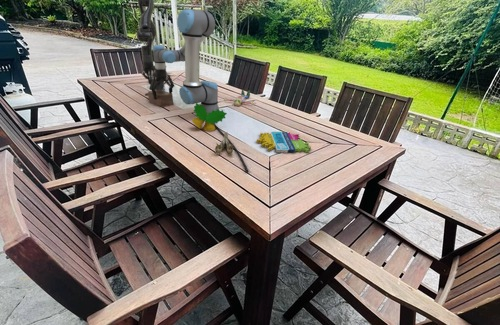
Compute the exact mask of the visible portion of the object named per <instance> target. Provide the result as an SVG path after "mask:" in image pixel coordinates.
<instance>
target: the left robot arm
mask: <svg viewBox="0 0 500 325" xmlns="http://www.w3.org/2000/svg"><path fill="white" fill-rule="evenodd" d="M154 1H155V0H137V4H138V8H139V12H140V19H139V26H138V30H137V33H136V39H137V41H138V42H140V43H146V44H145V45H141V47H140V49H141V60H142V67H143V71H142V72H141V73H140V74H141V75H142V77H143V78H144V79H146V80H147V83H148V85H150V84H151V81H152V76H154V77H156V73H155V69H156V68H155V63H154V55H153V43H154V42H155V39H156V37H157V29H156V24H155V23H154V21H153V19H152V15H153V11H154V4H155V2H154ZM166 79H167V81H168V82H169V80H168V78H166ZM156 80H157V79H156ZM156 80H155V82H156ZM154 84H155V83H154ZM165 84H166V82H165V81H164V82H160V83H159V84H158V86H157V87H156V89H155V90H163V91H166V90H165V89H166V86H165Z"/></svg>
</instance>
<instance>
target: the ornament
mask: <svg viewBox="0 0 500 325" xmlns="http://www.w3.org/2000/svg"><path fill="white" fill-rule="evenodd" d="M219 110H220V108H219V109H217V110H216V111H214V110H212V112H211V113H208V112H206V109H204V106H201V103H197V102H196V103H195V105H194V106H193V112H194V113H195V118H192V119H191V122H192V123H193V125H195V127H197V128H198V129H202V130H203V131H206V132H212V131H213V132H214V131H215V130H216V127H215V126H214V124H213V123H215V124H218V123H219V122H223V119H226V115H227V114H228V113H227V112H224V110H223V109H221V110H220V111H219ZM207 113H208V115H207Z"/></svg>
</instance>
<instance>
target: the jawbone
mask: <svg viewBox="0 0 500 325" xmlns="http://www.w3.org/2000/svg"><path fill="white" fill-rule="evenodd" d="M223 134H224V136H223V140H222V139H221V142H220V144H218V142H215V144H216V146H215V148H214V149H215V152H214V154H215V155H217V156H218V155H220V153H221V152H223V151H224V150H226V152H227V153H228V155H229V156H233V155H234V154H233V153H234V147H233V146H232V145H234V143H232V145H231V144H230V142H229V141H228V139H229V138H228V137H229V136H228V135H229V133H228V131H226V132H223Z"/></svg>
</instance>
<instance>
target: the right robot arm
mask: <svg viewBox="0 0 500 325" xmlns="http://www.w3.org/2000/svg"><path fill="white" fill-rule="evenodd" d="M176 25H177V27H178V28H177V29H178V30H179V32H180V33H181V37H183V38H184V44H183V45H182V46H181V48H180V49H174V50H173V49H172V50H171V49H165V46H164V45H162V44H160V45H159V44H155V45H152V50H153V55H154V62H153V64H154V66H155V68H156V69H155V73H156V77H154V76H152V81H151V84H149V88H148V89H149V90H148V91H152V94H153V96H154V99H155V100H157V97H156V91H155V89H156V87H157V86H158V84H159V83H160V82H164V83H165V82H166V83H165V84H166V85H167V86H168V92H169V93H172V94H173V90H174V89H173V88H174V87H175V84H174V82H173V80H172V77H171V76H170V75H171V74H167V75H166V72H167V65H166V64H173V63H179V62H184V69H185V70H184V71H185V72H184V73H185V74H184V75H185V76H184V77H185V78H184V81H183V82H182V86H180V88H179V89H178V90H179V91H178V92H179V97H180V99H181V101H182V102H183V103H184V104H185V105H194V104H195V105H196V102H197V103H198V104H201V106H204V109H206V112H208V113H211V112H212V110H214V111H216V110H217V109H219V111H221V110H220V108H219V102H218V99H219V98H218V97H219V88H218V84H217V82H214V81H210V80H200V54H201V53H200V51H201V50H200V45H201V44H202V43H203V42H204V41H205V39H207V38H209V37H210V36H211V35H212V34H213V33H214V32H215V29H216V20H215V18H214V16H213V15H212V13H211V12H210V11H207V10H199V9H191V8H190V9H188V8H187V9H185V8H184V9H182V10H181V11H180V12H179V13H178V16H177V18H176ZM165 68H166V69H165ZM156 79H157V80H156ZM167 79H168V81H167ZM155 80H156V82H155ZM154 83H155V84H154ZM208 113H207V115H208ZM213 124H214V126H215V129H216V130H217V131H219V133H220V134H221V135H222V136H223V137H224V132H223V131H222V130H221V129H220V128H219V127H218V126H217V125H216V123H213ZM228 141H229V144H230V145H232V144H233V142H232V141H231V140H230V139H229V138H228ZM232 148H233V150H235V153H237V155H238V157H239V158H240V161H241V162H242V164H243V167H244V169H245V172H246V173H248V172H249V168H248V167H247V165H246V163H245V160H244V158H243V156H242V155H241V154H240V152H239V150H238V149H237V147H236V146H235V145H234V144H233V145H232Z"/></svg>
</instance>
